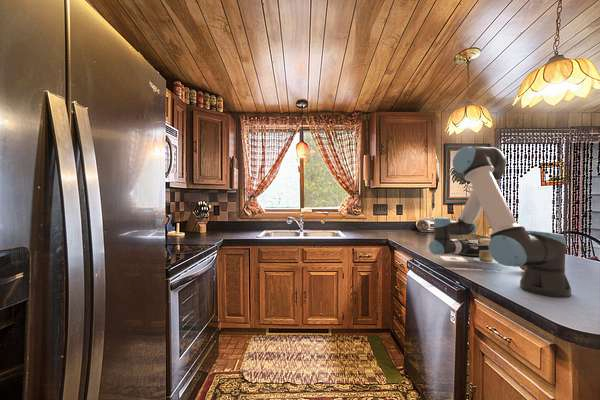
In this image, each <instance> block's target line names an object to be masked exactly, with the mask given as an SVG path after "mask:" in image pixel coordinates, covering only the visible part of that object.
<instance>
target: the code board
mask: <svg viewBox="0 0 600 400" xmlns="http://www.w3.org/2000/svg"><path fill="white" fill-rule="evenodd" d="M439 257H440V259H442V260H443V261H444V262H463V263H465V262H466V263H469V261H468V260H467V259H465V257H462V256H445V255H444V256H443V255H439Z"/></svg>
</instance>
